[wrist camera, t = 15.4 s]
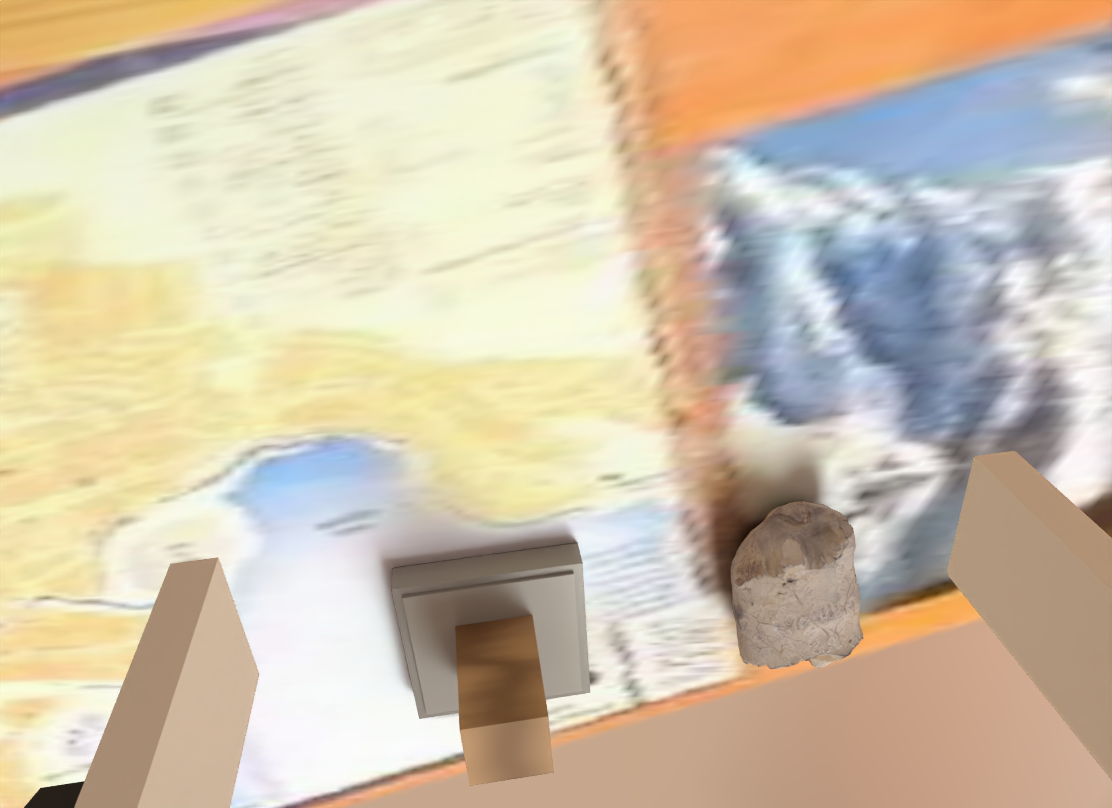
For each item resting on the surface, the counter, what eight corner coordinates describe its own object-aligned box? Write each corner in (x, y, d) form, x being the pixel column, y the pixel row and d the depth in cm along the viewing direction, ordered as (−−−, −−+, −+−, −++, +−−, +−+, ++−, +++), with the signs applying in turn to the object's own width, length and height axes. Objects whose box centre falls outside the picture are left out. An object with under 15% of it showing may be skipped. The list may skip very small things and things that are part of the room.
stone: (826, 473, 54) (874, 541, 48) (833, 603, 60) (876, 677, 55) (707, 503, 54) (740, 575, 48) (726, 630, 60) (758, 707, 55)
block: (464, 679, 56) (469, 785, 49) (455, 626, 53) (459, 730, 46) (537, 668, 56) (553, 772, 49) (532, 615, 54) (548, 716, 47)
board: (419, 695, 59) (419, 721, 57) (392, 568, 53) (390, 592, 51) (585, 670, 60) (590, 695, 58) (577, 542, 54) (583, 565, 52)
